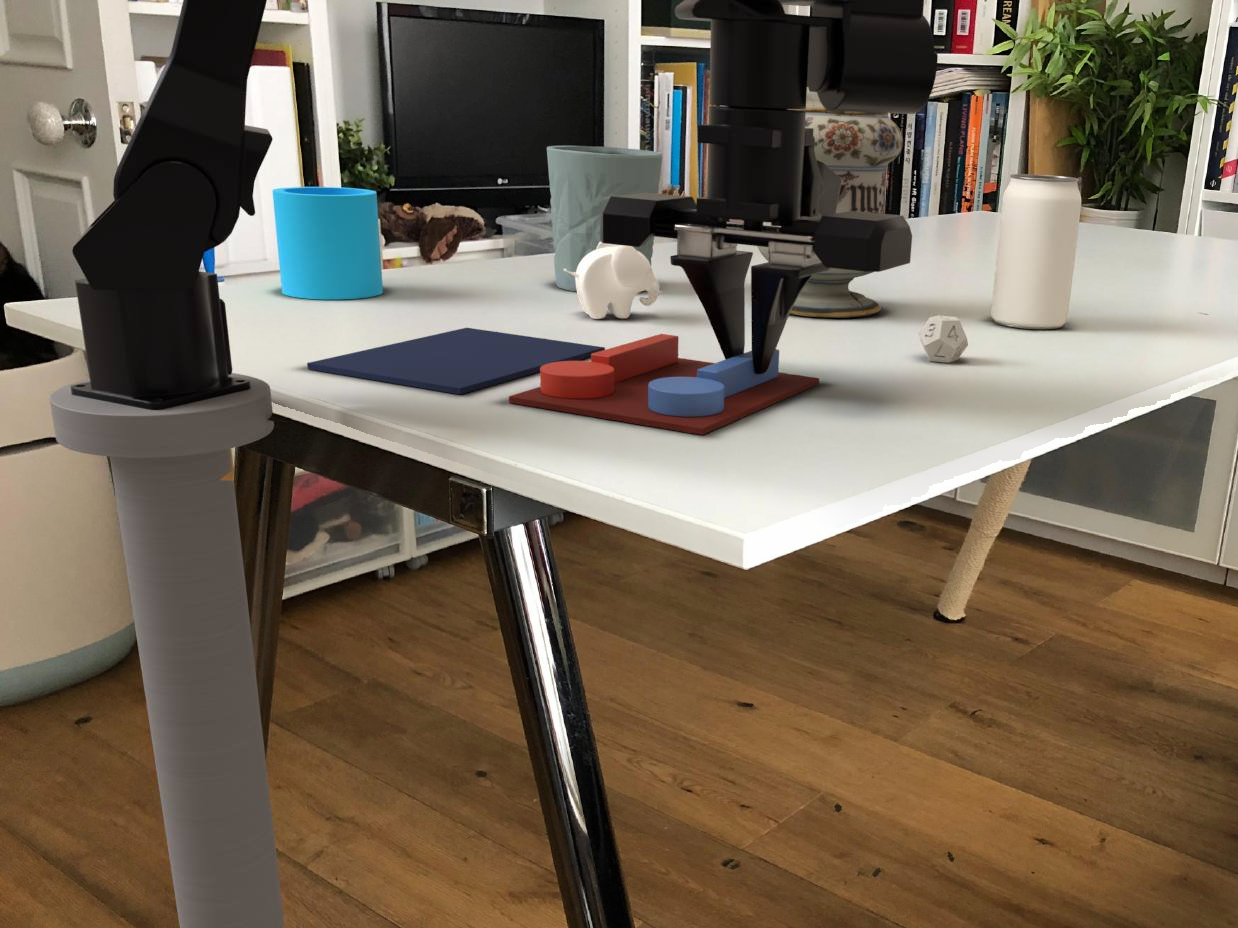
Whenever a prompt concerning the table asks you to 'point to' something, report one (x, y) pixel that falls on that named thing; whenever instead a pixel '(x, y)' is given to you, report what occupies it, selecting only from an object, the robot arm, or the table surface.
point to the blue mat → (455, 360)
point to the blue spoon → (707, 387)
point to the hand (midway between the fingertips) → (748, 371)
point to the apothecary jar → (847, 195)
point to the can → (1036, 251)
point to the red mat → (633, 408)
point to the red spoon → (607, 368)
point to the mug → (328, 242)
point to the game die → (943, 339)
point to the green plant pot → (592, 197)
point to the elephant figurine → (614, 280)
